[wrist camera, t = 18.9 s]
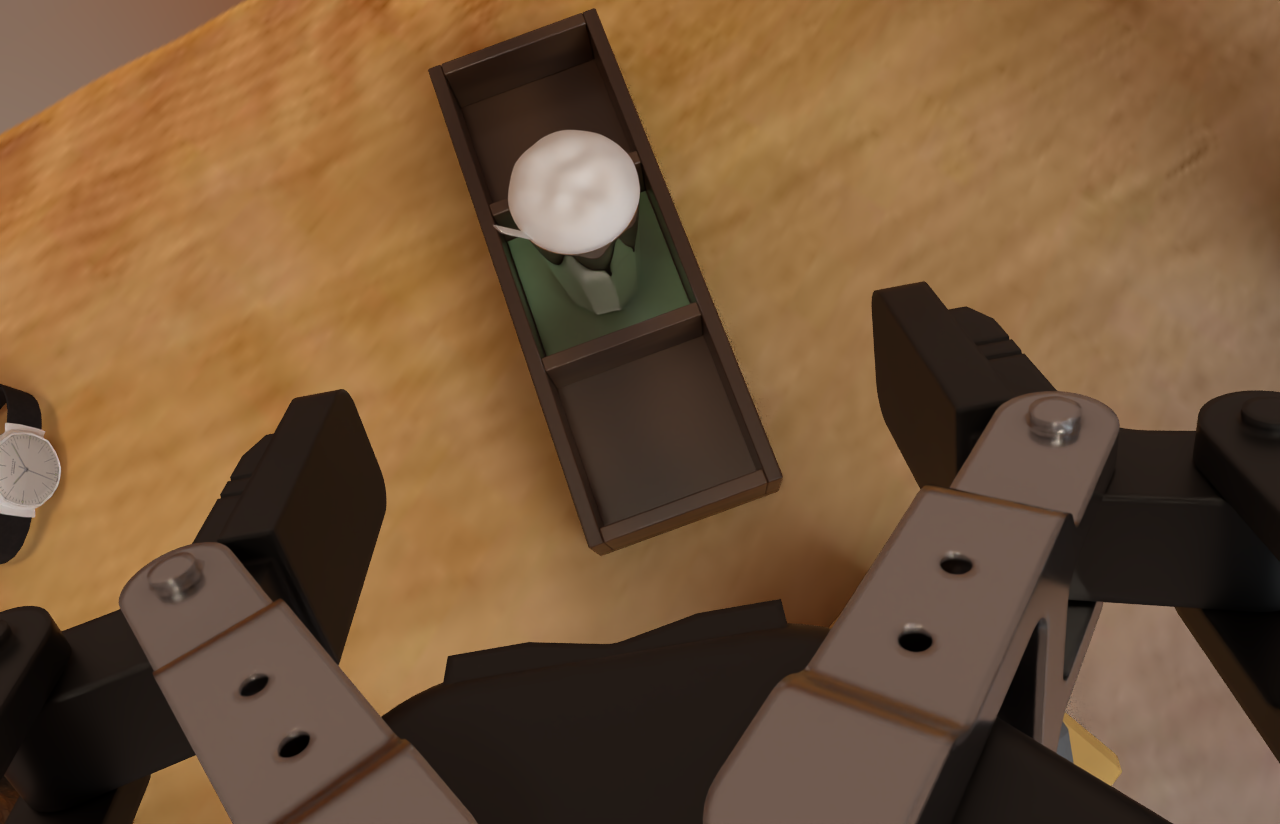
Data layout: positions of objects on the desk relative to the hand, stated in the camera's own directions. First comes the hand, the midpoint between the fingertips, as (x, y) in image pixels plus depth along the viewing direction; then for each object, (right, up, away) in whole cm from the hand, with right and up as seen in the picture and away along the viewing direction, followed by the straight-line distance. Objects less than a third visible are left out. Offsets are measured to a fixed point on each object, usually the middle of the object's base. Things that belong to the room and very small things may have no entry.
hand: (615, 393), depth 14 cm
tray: (-1, +5, +27) cm, 27 cm away
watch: (-27, -3, +27) cm, 38 cm away
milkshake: (-1, +5, +26) cm, 27 cm away
